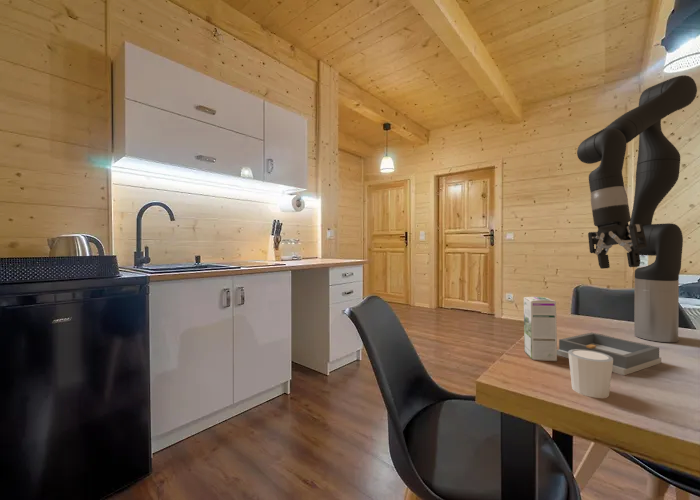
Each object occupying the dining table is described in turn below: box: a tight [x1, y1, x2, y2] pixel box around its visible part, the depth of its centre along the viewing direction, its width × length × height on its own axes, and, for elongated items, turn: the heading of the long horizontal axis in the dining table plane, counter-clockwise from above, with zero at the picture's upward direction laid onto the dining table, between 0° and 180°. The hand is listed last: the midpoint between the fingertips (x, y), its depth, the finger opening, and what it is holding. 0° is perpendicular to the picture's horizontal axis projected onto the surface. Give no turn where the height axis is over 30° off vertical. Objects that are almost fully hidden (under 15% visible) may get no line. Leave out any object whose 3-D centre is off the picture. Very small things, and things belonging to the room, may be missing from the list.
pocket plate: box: [557, 332, 662, 376], centre depth 76 cm, size 16×14×4 cm
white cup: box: [568, 349, 613, 399], centre depth 60 cm, size 7×7×7 cm
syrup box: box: [523, 296, 558, 362], centre depth 78 cm, size 6×6×14 cm
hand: (618, 267), depth 82 cm, fingers open, 8 cm apart
